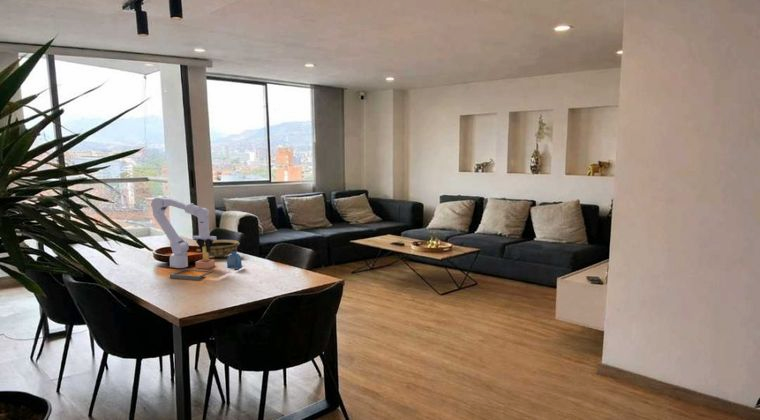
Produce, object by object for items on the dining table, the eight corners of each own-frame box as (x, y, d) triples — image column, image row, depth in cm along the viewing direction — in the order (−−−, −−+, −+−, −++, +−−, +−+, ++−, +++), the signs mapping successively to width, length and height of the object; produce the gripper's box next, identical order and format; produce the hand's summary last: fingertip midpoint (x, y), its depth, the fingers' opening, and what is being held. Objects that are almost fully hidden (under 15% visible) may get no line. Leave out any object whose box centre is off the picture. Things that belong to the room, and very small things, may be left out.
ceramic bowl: (230, 251, 339) (229, 237, 338) (250, 256, 323) (249, 241, 322) (188, 258, 317) (187, 243, 316) (207, 264, 301) (206, 248, 300)
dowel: (201, 259, 288) (201, 247, 287) (205, 258, 291) (204, 246, 290) (206, 260, 287) (205, 247, 286) (209, 258, 290) (209, 246, 290)
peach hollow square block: (195, 270, 287) (195, 261, 287) (203, 267, 295) (203, 259, 294) (207, 271, 285) (207, 262, 285) (215, 268, 293) (214, 259, 292)
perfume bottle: (241, 267, 294) (240, 247, 292) (237, 270, 288) (236, 250, 286) (231, 267, 294) (230, 247, 293) (227, 270, 288) (226, 249, 287)
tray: (170, 278, 270) (169, 274, 270) (184, 272, 283) (184, 268, 282) (199, 280, 266) (198, 276, 265) (212, 274, 278) (212, 270, 278)
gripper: (188, 229, 285) (190, 252, 287) (211, 230, 281) (212, 253, 283) (196, 227, 292) (197, 250, 294) (218, 228, 288) (219, 251, 290)
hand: (205, 251), depth 289 cm, fingers closed on dowel, 3 cm apart
